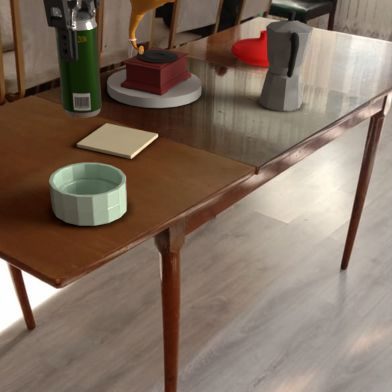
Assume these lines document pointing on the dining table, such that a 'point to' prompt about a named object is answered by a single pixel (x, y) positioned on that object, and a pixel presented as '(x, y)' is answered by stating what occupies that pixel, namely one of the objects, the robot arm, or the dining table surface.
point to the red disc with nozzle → (252, 50)
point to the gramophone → (153, 71)
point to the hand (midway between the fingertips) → (78, 53)
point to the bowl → (88, 193)
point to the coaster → (117, 140)
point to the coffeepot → (285, 63)
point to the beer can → (82, 71)
